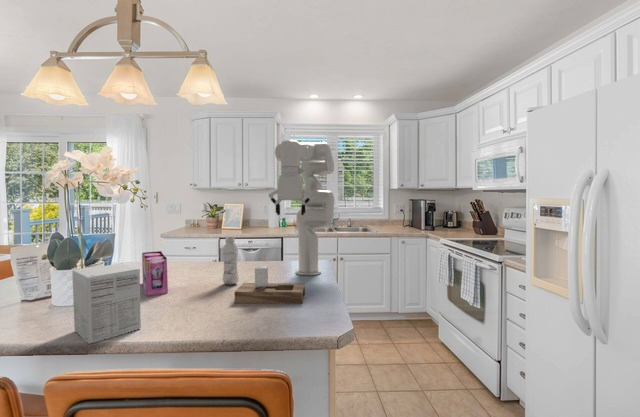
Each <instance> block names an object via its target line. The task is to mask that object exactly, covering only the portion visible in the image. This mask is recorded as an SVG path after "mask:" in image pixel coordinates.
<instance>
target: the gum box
mask: <svg viewBox="0 0 640 417" xmlns="http://www.w3.org/2000/svg"><path fill="white" fill-rule="evenodd" d="M141 261H142V262H141V265H142V266H141V268H142V269H141V270H142V285H143V289H144V294H145V296H146V297H147V296H157V295H164V294H165V295H166V294H169V289H168V288H169V287H168V283H169V281H168V279H169V278H168V260H167V257H166V256H165V254H163V252H162V251H161V250H160V251H159V250H158V251H151V252H150V251H146V252H142V253H141Z"/></svg>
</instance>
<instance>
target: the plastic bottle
mask: <svg viewBox="0 0 640 417" xmlns="http://www.w3.org/2000/svg"><path fill="white" fill-rule="evenodd" d="M235 240H236V239H235V237H232V236H230V237H225V240H224V241H225V244H224V246H222V250H221V252H222V259H223V273H222V283H223V284H224V285H231V286H232V285H235V284H238V283H239V280H240V279H239V272H238V252H239V249H238V247H237V246H236V244H235Z"/></svg>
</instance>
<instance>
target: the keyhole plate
mask: <svg viewBox="0 0 640 417" xmlns="http://www.w3.org/2000/svg"><path fill="white" fill-rule="evenodd" d="M305 285H306V283H304V282H303V283H298V282H297V283H295V282H293V283H292V282H290V283H285V282H281V283H280V282H279V283H277V282H276V283H274V282H268V285H267V287H265V289H259V287H255V282H243V283H242V284H241V285H239V287H238V288H237V289H236V290H235V291H234V304H289V305H290V304H292V305H293V304H294V305H295V304H297V305H298V304H299V305H300V304H303V300H304V297H303V296H305V294H306V292H305V290H306V286H305Z"/></svg>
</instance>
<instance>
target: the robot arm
mask: <svg viewBox="0 0 640 417" xmlns="http://www.w3.org/2000/svg"><path fill="white" fill-rule="evenodd" d="M274 156H275V158H276V160H277V161H279V162H280V175H279V176H278V182H277V189H276V190H273V191H272V192H270V193H268V197H269V198H270V201H271V202H272V203H273V204H274V205H275V214H276V215H277V216H279V215H281V205H280V203H281V202H282V201H299V202H300V203H301V206H300V209H299V210H298V212H296V213H297V214H296V223H297V230H298V268H297V269H295V274H297V275H299V276H317V275H320V274H321V273H322V269H320V268H319V237H318V233H317V232H316V231H315V230H314V229H329V228H331V226H332V224H333V219H334V209H335V208H334V207H335V196H334V193H333V192H332V191H331V190H322V183H321V181H320V180H319V179H318V178H317V177H316V176H315V175H331V174H333V172H334V170H335V163H334V159H333V153H332V149H331V147H330V145H329V144H328V143H327V142H326V141H322V142H321V141H320V142H305V141H301V142H299V141H298V140H294V139H285V140H282V141H281V143H278V144H277V145H276V146H275V148H274ZM275 195H277V200H276V199H275V197H274V196H275Z"/></svg>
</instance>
